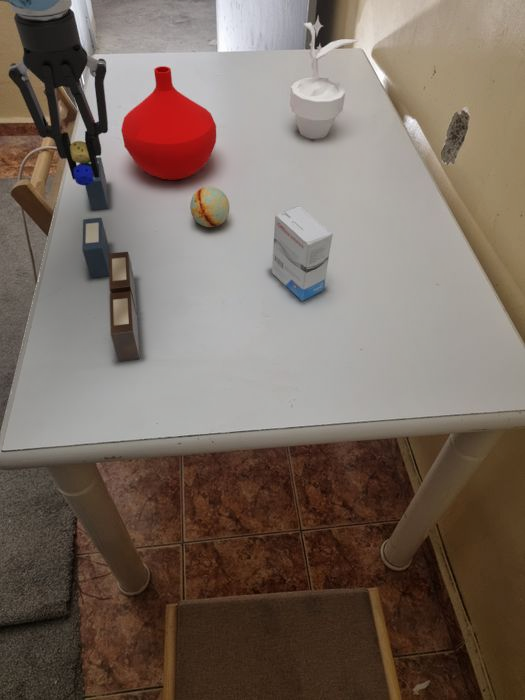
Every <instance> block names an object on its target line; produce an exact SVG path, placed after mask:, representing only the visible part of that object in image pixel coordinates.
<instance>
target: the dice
mask: <svg viewBox="0 0 525 700" xmlns="http://www.w3.org/2000/svg"><path fill="white" fill-rule="evenodd" d="M70 152H71V157H72V159H73V161H75V162H76V164H77V163H78V164H77V166H76V167H75V168H74V177H75V179H74V181H75V183H76V184H78V185H80V186H85V185H89V184H91V183H93V182H94V179H95V178H94V174H93V170H92V166H91V164H90V158H89V154H88V150H87V146H86V142H85V141H82V140H76V141H73V142H71V145H70Z"/></svg>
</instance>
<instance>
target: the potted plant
mask: <svg viewBox="0 0 525 700" xmlns="http://www.w3.org/2000/svg"><path fill="white" fill-rule="evenodd" d="M302 26H304V27H305V28H306V29H308V30H309V32H310V35H311V41H310V43H309V44H308V46H310V50H309V55H310V58H311V71H312V77H305V78H302V79H299V80H296V81H295V82H294V83H293V84H292V85H291V86H290V99H289V106H290V110H291V112H292V113H294V114H295V115H294V116H295V118H296V124H297V127H298V132H299V134H300V135H301V136H303V137H304V138H306V139H310V140H320V139H322V138H325V137H327V135H328V134H329V132H330V130H331V128H332V126H333V124H334V122H335V120H336V118H337V117H339V115H341V114H342V112H343V109H344V104H345V103H344V102H345V97H346V91H345V89H344V86H343V85H342V84H340V83H339V82H336V81H335V80H332V79H330V78H329V77H319V76H320V75H319V60H321V58H323V57H325V56H326V55H328V54H330V53H331V52H333V51H334V50H336V49H338V48H340V47H342V46H345V45H350V44H354V43H358V42H359V40H357V39H351V38H346V39H345V38H344V39H338V40H333V41H331V42H329V43H327V44H326V45H325V46H323V47H322V46H321V43H319V45H318V46H317V47H316V49H317V50H318V52H317V54H316V49H315V44H316V43H315V41H316V36H318V34H319V31H320V30H321V28H322V27H323V24H321V23H320V17H319V14H318V15H317V18H316V21H315V22H314V24H312V22H311V21H310V22H304V23H303V24H302Z"/></svg>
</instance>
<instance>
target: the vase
mask: <svg viewBox="0 0 525 700" xmlns="http://www.w3.org/2000/svg"><path fill="white" fill-rule="evenodd" d="M153 71H154V73H153V74H154V80H155V88H154V89H153V90H152V92H151V93H150V94H149V95H148V96H147V97H145V99H144V100H142V101H141V102H140V103H138V104H137V105H136V106H135V107H134V108H132V109H131V110H129V111H128V112H127V114H126V115H125V116H124V118H123V120H122V125H121V136H122V141H123V144H124V145H123V146H124V148H125V150H126V151H127V152H128V154H129V155H130V157H131V158H132V160H133V161H134V162H135V164H136V165H137V166H138V167H139V168H141V169H142V171H144V172H146V173H148V174H149V175H150V176H153V177H155V178H158V179H161V180H167V181H177V180H178V181H179V180H183V179H186V178H188V177H189V178H190V177H191V176H193V175H194V174H197V173H198V172H199V171H200V170H201V169H202V168H204V166H205V165H206V163H207V162H208V161H209V160H210V158H211V156H212V153H213V151H214V148H215V146H216V144H217V143H216V142H217V125H216V122H215V120H214V117H213V115H212V113H211V112H210V111H209V110H208V109H207V108H205V107H204V106H202V105H200V104H198V103H197V102H195V101H193V100H192V99H190V98H189V97H187V96H186V95H184V94H183V93H181V92H179V91H178V90H177V88H175V87H174V85H173V77H172V70H171V67H169V66H166V65H165V66H163V65H160V66H157V67H155V68H153Z"/></svg>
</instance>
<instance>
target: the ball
mask: <svg viewBox="0 0 525 700" xmlns="http://www.w3.org/2000/svg"><path fill="white" fill-rule="evenodd" d="M189 207H190V208H189V209H190V214H191V215H192V217H193V219H194V220H195V221H196V222H197V223H198V224H199V225H201V226H203V227H206V228H214V227H215V228H216V227H218V226H220V225H222V224H223V223H224V222H225V221H226V220H227V218H228V216H229V213H230V207H231V206H230V201H229V198H228V197H227V195H226V193H225V192H224V191H223V190H221V189H220V188H218V187H216V186H204V187H201V188H200V189H198V190H196V192H195V193H194V194H193V196H192V197H191V199H190V206H189Z"/></svg>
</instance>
